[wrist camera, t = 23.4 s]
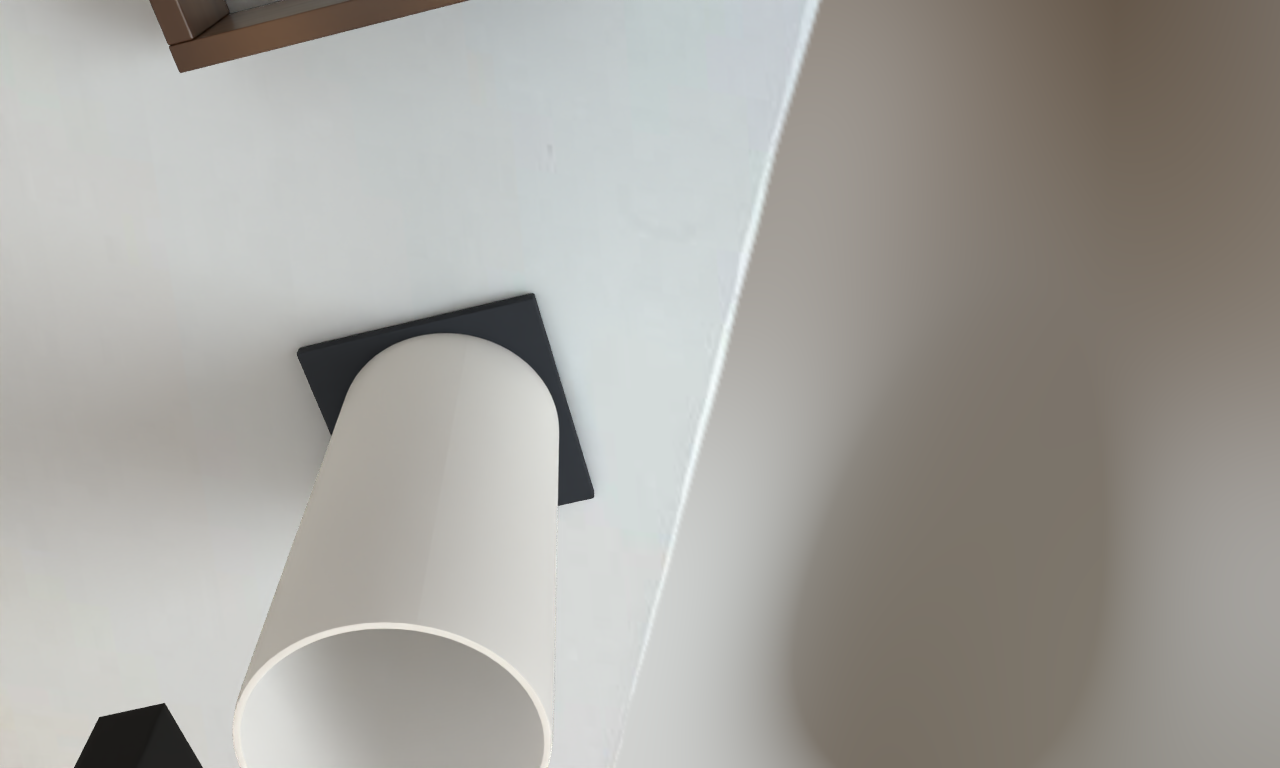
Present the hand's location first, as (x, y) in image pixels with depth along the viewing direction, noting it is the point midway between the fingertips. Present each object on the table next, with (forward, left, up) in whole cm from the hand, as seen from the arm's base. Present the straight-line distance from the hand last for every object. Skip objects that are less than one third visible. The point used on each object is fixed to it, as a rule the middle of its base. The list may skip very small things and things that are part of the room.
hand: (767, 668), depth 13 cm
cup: (+10, +12, -28) cm, 32 cm away
